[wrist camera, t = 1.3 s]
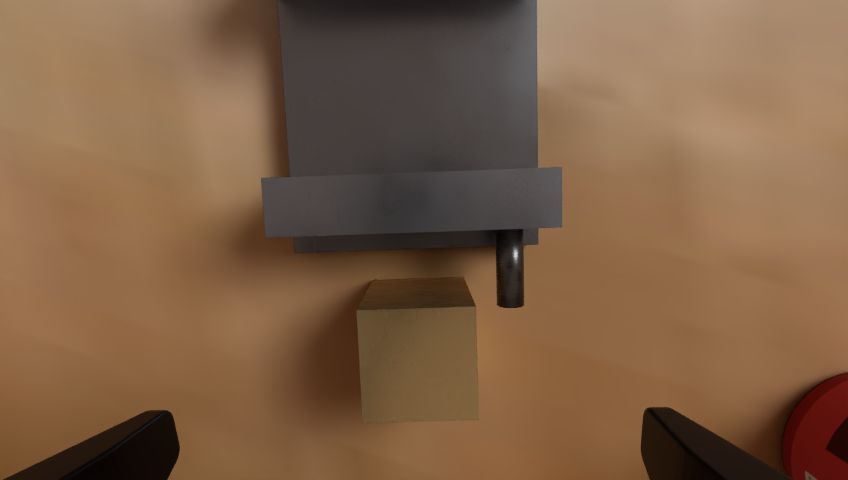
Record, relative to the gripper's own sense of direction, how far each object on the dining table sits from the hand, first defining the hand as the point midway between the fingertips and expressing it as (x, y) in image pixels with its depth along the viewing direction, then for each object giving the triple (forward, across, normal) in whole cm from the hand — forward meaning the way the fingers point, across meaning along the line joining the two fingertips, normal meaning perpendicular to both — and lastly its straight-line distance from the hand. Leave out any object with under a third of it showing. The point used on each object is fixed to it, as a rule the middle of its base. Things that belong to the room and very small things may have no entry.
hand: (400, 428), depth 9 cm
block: (+11, +1, +3) cm, 12 cm away
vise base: (+13, +1, -6) cm, 14 cm away
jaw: (+10, +1, -1) cm, 10 cm away
